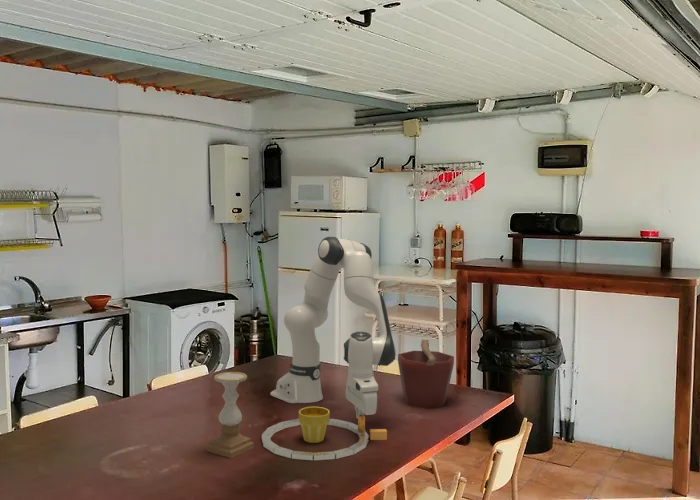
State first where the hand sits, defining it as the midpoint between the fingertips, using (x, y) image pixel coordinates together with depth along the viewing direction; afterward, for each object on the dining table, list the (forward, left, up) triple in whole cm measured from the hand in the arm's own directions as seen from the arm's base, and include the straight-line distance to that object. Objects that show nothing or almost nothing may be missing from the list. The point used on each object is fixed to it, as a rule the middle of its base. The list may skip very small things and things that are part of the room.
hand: (359, 419), depth 216 cm
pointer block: (+8, -1, -5) cm, 10 cm away
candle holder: (-22, -39, -5) cm, 45 cm away
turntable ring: (-7, -15, -5) cm, 17 cm away
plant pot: (-8, -15, -5) cm, 18 cm away
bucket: (-2, +46, -5) cm, 46 cm away
